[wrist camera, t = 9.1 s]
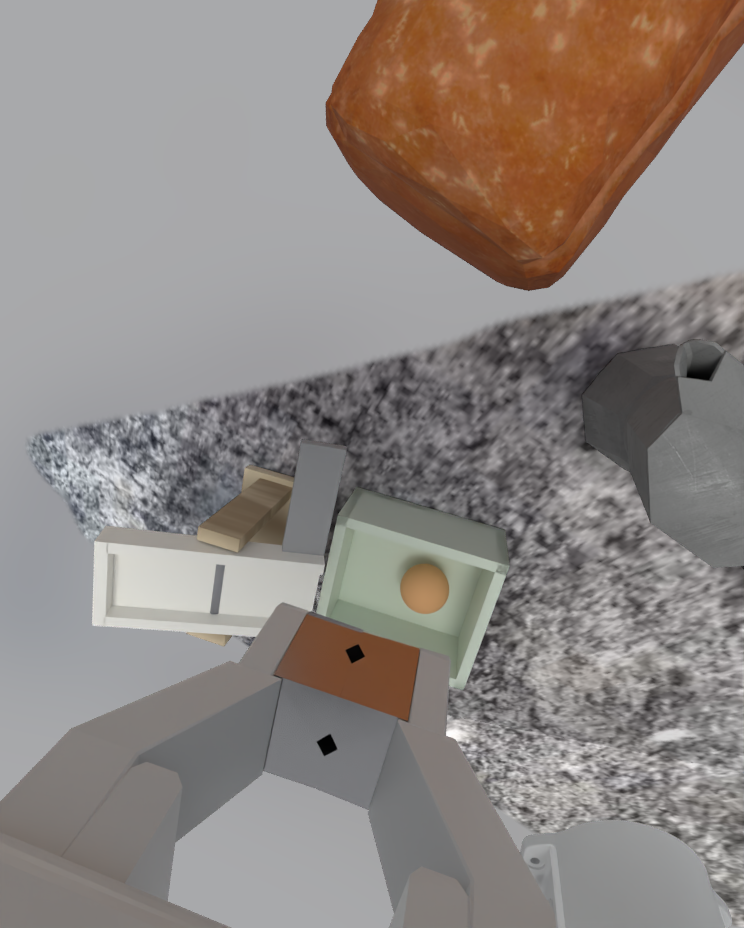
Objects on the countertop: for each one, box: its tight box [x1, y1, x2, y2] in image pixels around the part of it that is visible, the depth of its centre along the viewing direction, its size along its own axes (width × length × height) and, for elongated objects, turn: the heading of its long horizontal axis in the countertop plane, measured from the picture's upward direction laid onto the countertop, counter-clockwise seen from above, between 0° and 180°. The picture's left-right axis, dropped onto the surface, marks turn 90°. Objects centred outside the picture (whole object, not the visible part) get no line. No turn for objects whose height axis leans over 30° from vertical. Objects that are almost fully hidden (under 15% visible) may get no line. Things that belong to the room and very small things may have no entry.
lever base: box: [187, 465, 294, 646], centre depth 39 cm, size 10×6×11 cm, turn 167°
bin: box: [316, 487, 510, 690], centre depth 40 cm, size 12×13×6 cm
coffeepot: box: [582, 339, 744, 568], centre depth 27 cm, size 15×9×18 cm, turn 34°
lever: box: [92, 439, 347, 637], centre depth 33 cm, size 15×15×2 cm
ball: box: [400, 564, 449, 614], centre depth 40 cm, size 4×4×4 cm
